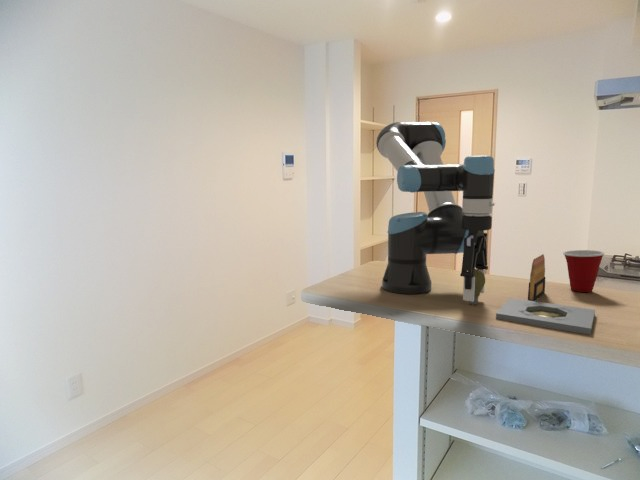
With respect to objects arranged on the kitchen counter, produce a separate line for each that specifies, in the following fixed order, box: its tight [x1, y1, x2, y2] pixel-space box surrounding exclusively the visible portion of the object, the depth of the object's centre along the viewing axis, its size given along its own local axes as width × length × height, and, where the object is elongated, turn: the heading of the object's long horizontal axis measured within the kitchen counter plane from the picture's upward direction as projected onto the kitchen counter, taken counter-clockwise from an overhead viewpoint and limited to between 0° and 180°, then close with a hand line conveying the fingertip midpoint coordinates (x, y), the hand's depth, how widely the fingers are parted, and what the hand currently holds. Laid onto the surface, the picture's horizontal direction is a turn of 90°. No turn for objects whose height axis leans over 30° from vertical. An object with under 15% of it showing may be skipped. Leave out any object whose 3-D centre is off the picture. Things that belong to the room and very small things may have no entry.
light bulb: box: [467, 268, 486, 306], centre depth 119 cm, size 6×6×10 cm
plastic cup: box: [562, 249, 605, 293], centre depth 132 cm, size 11×11×12 cm
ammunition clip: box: [527, 253, 546, 302], centre depth 126 cm, size 11×2×12 cm, turn 139°
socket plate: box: [495, 297, 596, 336], centre depth 109 cm, size 20×16×2 cm
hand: (473, 296), depth 119 cm, fingers open, 9 cm apart
